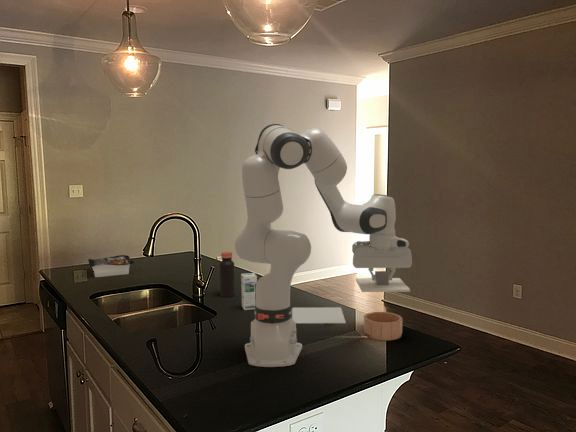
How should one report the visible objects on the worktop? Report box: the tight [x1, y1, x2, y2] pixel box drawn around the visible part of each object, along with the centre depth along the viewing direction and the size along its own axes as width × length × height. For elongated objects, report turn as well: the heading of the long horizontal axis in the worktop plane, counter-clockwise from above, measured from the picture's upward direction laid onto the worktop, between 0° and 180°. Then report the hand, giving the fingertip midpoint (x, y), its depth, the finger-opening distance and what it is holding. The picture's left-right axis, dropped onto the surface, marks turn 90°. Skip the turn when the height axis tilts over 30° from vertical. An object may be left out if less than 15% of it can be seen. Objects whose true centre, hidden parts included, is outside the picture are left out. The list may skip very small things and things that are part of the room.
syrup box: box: [240, 272, 258, 311], centre depth 203 cm, size 6×6×14 cm
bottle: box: [219, 251, 236, 298], centre depth 223 cm, size 7×7×20 cm
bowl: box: [363, 311, 403, 342], centre depth 171 cm, size 13×13×6 cm
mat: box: [291, 306, 347, 324], centre depth 190 cm, size 20×20×1 cm
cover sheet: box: [355, 270, 411, 293], centre depth 170 cm, size 16×16×5 cm
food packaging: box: [87, 254, 135, 278], centre depth 274 cm, size 25×8×23 cm
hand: (381, 280), depth 170 cm, fingers closed on cover sheet, 4 cm apart
